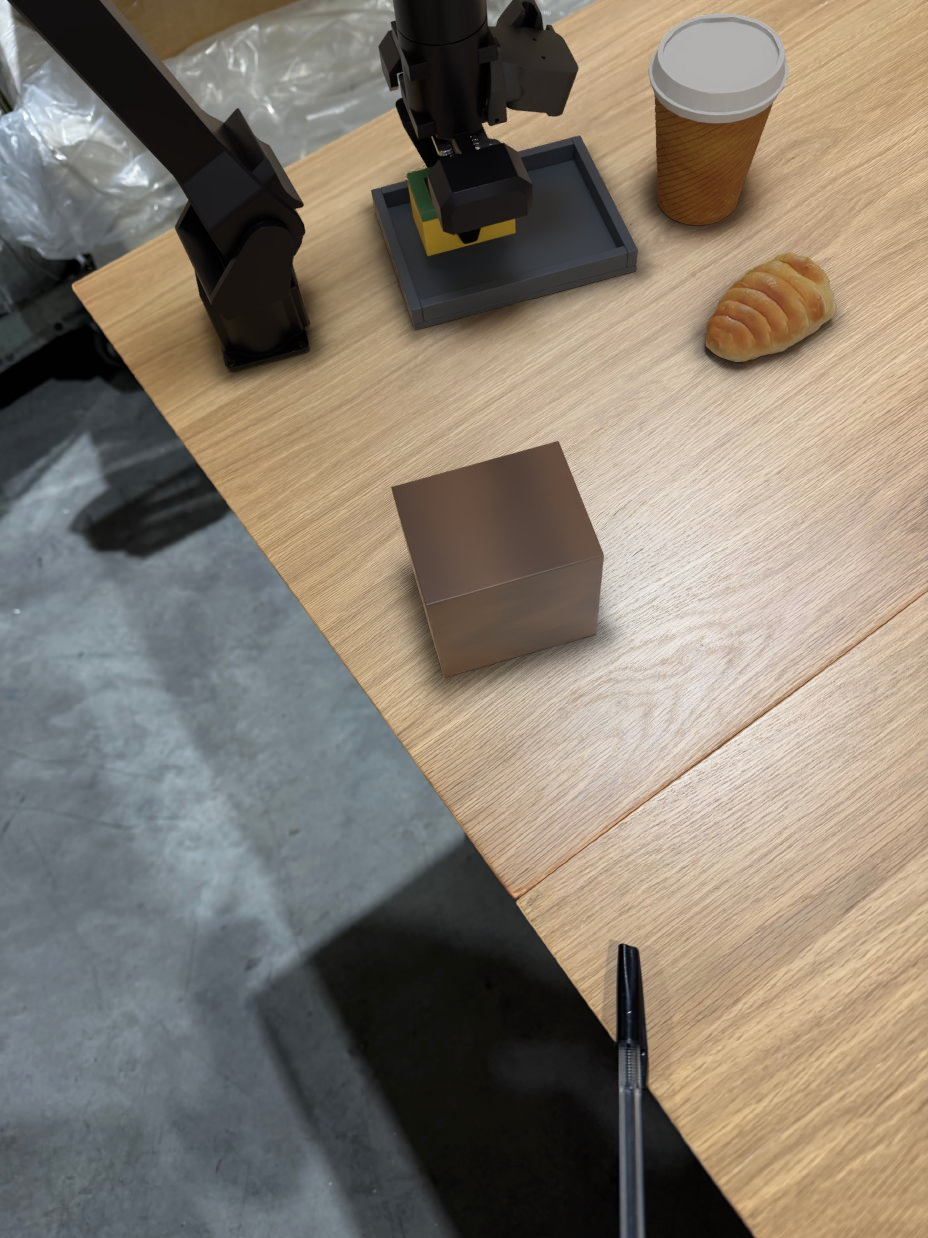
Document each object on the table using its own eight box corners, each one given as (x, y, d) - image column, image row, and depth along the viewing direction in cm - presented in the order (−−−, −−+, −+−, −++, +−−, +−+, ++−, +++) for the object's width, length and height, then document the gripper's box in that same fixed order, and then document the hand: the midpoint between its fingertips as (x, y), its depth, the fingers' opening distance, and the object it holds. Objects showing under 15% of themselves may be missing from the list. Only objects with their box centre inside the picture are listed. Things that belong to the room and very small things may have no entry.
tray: (414, 330, 73) (411, 310, 71) (374, 210, 79) (370, 189, 77) (636, 271, 74) (638, 249, 72) (579, 157, 80) (580, 134, 78)
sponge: (427, 256, 73) (421, 213, 69) (413, 216, 75) (406, 172, 71) (515, 232, 73) (514, 189, 70) (499, 193, 75) (496, 149, 72)
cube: (444, 678, 60) (425, 606, 51) (413, 571, 64) (390, 486, 55) (596, 634, 61) (604, 555, 52) (557, 530, 64) (558, 440, 55)
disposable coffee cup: (778, 178, 77) (815, 30, 66) (725, 256, 74) (755, 113, 63) (670, 142, 80) (689, -6, 69) (615, 216, 76) (625, 72, 66)
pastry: (747, 388, 68) (757, 351, 65) (679, 335, 71) (686, 296, 67) (839, 319, 70) (853, 279, 67) (769, 270, 73) (780, 229, 69)
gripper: (615, 75, 56) (602, 278, 70) (521, -94, 64) (526, 118, 78) (431, 123, 55) (455, 318, 69) (360, -54, 64) (394, 152, 78)
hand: (462, 220), depth 74 cm, fingers closed on sponge, 4 cm apart
